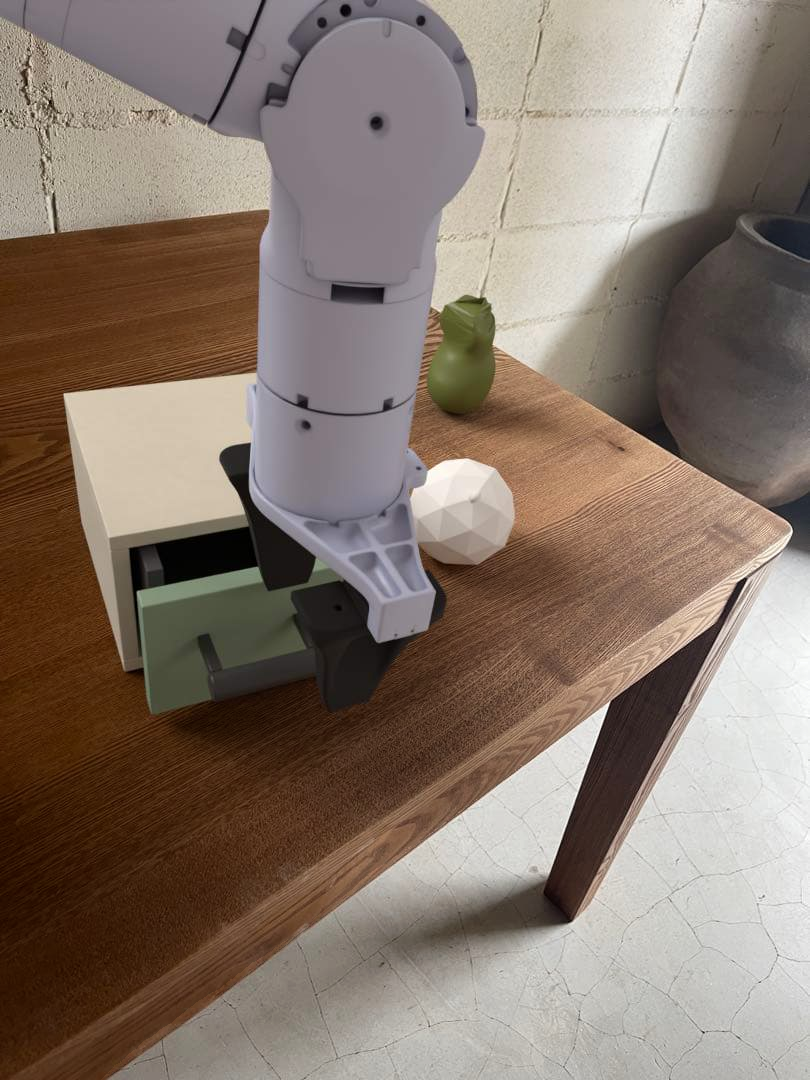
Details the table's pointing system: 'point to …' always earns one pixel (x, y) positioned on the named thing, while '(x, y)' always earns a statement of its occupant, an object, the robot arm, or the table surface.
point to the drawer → (216, 621)
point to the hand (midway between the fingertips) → (314, 637)
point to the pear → (463, 356)
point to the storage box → (152, 476)
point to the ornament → (462, 512)
